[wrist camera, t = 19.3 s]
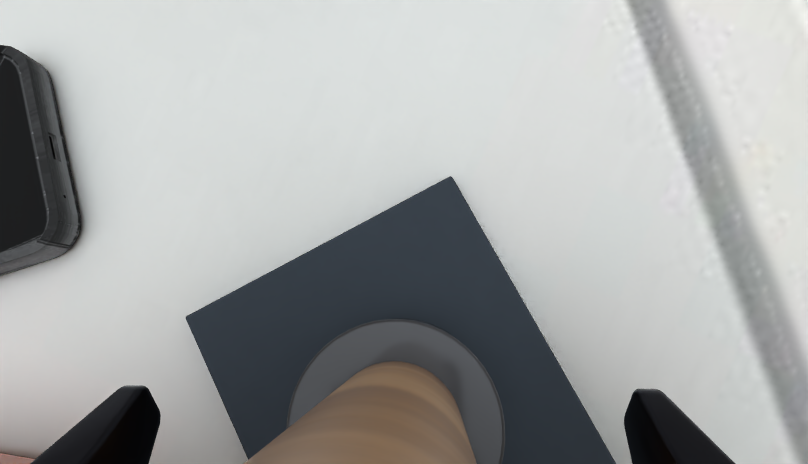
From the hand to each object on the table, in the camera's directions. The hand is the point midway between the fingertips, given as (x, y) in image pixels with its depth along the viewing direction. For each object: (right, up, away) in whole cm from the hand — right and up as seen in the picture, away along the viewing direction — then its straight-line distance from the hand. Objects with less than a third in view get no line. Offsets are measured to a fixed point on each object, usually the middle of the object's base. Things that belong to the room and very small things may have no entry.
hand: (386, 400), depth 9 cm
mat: (0, -3, +7) cm, 7 cm away
